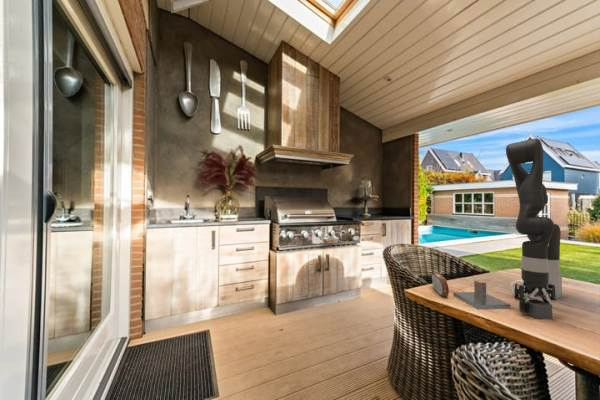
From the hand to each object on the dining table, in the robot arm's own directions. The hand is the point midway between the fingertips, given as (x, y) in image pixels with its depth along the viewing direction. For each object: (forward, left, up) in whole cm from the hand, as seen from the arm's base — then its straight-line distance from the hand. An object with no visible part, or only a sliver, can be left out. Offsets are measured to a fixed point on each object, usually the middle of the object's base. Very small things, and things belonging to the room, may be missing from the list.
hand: (535, 311), depth 93 cm
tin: (+22, -24, -1) cm, 33 cm away
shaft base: (+11, -13, -1) cm, 17 cm away
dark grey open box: (0, 0, -1) cm, 1 cm away
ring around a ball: (-10, -15, -1) cm, 18 cm away
